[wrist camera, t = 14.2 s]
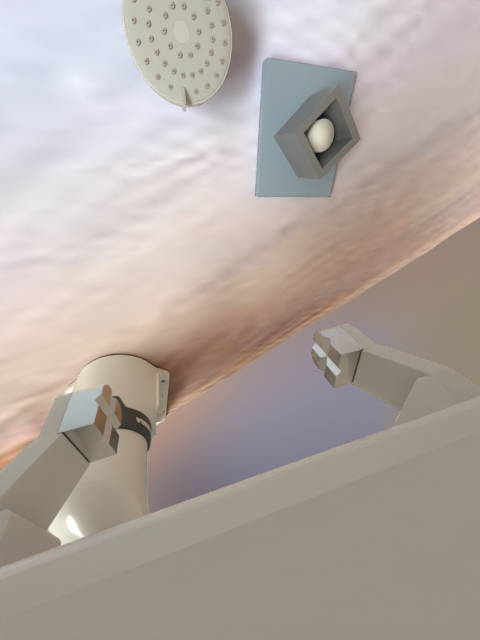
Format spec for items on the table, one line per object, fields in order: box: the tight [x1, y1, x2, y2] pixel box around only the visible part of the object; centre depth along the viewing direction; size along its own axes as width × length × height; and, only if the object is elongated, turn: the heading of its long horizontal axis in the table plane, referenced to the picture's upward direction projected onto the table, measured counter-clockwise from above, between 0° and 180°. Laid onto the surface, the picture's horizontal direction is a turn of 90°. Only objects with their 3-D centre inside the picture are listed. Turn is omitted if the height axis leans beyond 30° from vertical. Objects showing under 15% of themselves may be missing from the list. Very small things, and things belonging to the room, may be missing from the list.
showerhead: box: [122, 0, 232, 111], centre depth 23 cm, size 9×7×10 cm
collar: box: [273, 83, 360, 180], centre depth 30 cm, size 6×6×6 cm
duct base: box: [255, 58, 356, 197], centre depth 31 cm, size 14×12×6 cm
